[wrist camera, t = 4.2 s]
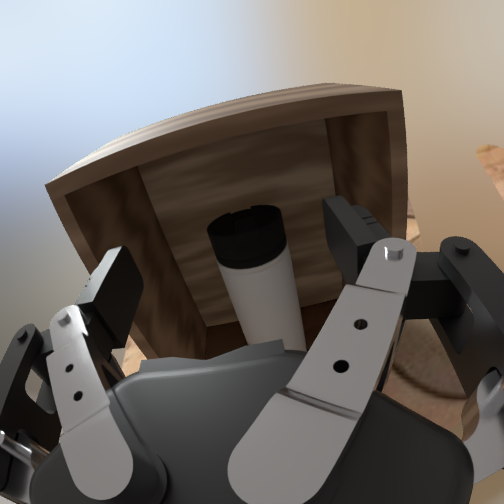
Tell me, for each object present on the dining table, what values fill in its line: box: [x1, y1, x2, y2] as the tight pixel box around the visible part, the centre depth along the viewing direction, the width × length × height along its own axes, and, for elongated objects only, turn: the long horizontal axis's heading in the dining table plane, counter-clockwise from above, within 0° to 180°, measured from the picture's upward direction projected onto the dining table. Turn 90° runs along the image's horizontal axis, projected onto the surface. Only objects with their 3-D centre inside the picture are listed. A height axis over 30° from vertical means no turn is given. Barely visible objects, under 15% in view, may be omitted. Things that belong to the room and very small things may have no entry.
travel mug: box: [207, 205, 307, 352], centre depth 29 cm, size 6×7×20 cm
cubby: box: [45, 83, 408, 360], centre depth 28 cm, size 15×22×28 cm
